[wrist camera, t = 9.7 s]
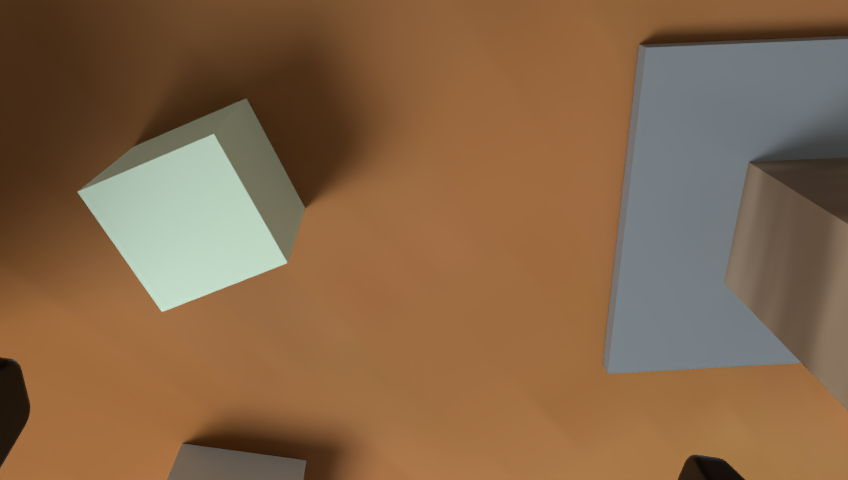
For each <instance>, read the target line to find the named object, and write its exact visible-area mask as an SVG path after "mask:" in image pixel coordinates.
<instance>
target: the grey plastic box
mask: <svg viewBox="0 0 848 480" xmlns="http://www.w3.org/2000/svg"><path fill="white" fill-rule="evenodd" d="M305 467H306V460H300V459H293V458H285V457H278V456H271V455H263V454H256V453H249V452H241V451H234V450H227V449H219V448H212V447H205V446H197V445H190V444H183V443H182V446H181V448H180V450H179V453H178V455H177V458H176V460H175V462H174V465H173V467H172V470H171V472H170V475H169V477H168V479H167V480H303V479H304V473H305Z"/></svg>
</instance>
